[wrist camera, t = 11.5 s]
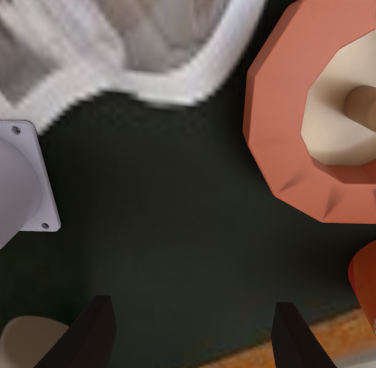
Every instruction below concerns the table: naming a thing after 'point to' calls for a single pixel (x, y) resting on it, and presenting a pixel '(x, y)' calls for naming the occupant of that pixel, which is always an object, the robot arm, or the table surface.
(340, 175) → the ring
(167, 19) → the table surface
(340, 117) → the post
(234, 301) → the table surface
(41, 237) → the table surface
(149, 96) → the table surface
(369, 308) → the coffee cup
